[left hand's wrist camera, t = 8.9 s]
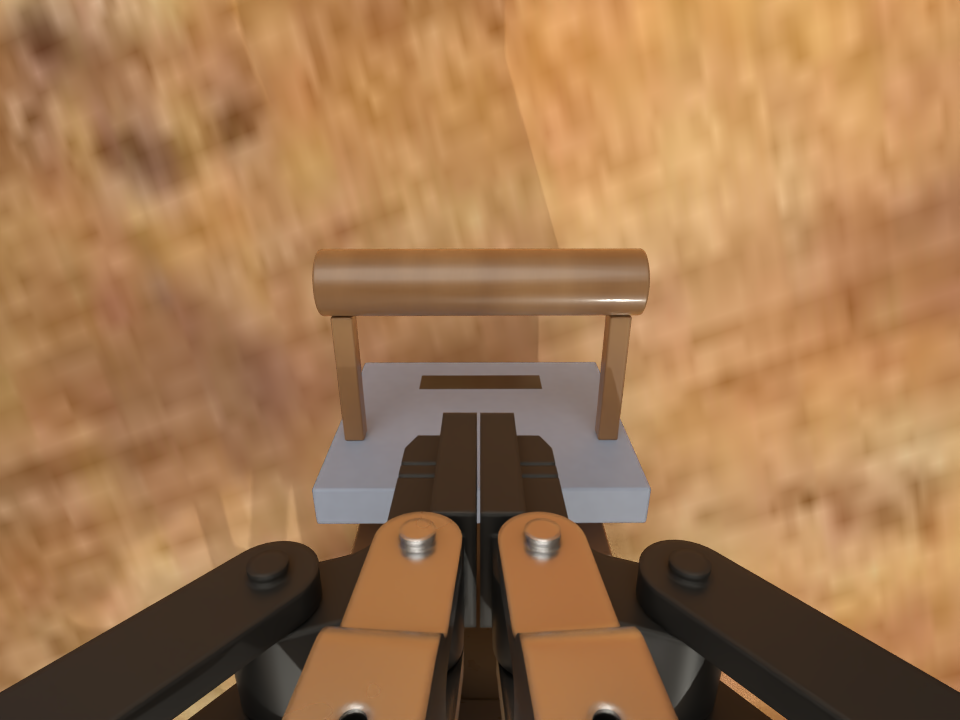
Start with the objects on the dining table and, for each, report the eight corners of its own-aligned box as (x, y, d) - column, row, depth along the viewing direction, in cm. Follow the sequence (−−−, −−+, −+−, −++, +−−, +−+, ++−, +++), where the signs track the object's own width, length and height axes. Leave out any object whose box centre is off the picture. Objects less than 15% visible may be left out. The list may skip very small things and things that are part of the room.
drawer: (350, 212, 20) (278, 279, 13) (609, 211, 20) (684, 278, 13) (395, 688, 31) (369, 874, 23) (565, 687, 31) (593, 873, 23)
